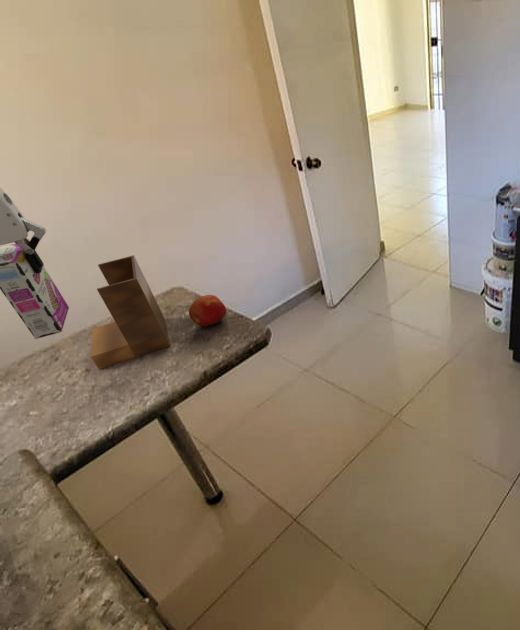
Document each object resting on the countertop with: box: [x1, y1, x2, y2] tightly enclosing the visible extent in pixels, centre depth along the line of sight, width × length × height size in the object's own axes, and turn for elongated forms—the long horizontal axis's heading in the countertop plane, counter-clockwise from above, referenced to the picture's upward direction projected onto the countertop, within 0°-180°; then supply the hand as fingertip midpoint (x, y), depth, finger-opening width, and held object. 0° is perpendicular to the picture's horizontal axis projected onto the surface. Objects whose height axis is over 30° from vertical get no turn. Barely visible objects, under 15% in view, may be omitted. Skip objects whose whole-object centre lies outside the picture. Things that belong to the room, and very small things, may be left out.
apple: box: [188, 294, 227, 327], centre depth 117 cm, size 8×8×8 cm
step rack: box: [90, 255, 171, 370], centre depth 108 cm, size 16×15×20 cm
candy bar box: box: [0, 243, 70, 340], centre depth 88 cm, size 11×5×16 cm, turn 28°
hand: (21, 274), depth 86 cm, fingers closed on candy bar box, 5 cm apart
